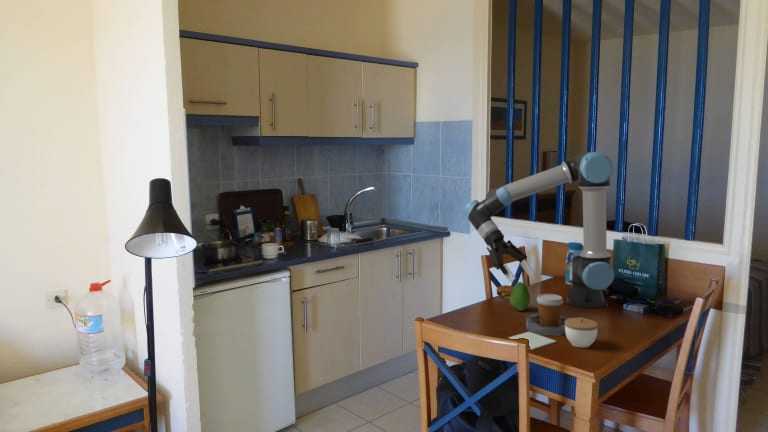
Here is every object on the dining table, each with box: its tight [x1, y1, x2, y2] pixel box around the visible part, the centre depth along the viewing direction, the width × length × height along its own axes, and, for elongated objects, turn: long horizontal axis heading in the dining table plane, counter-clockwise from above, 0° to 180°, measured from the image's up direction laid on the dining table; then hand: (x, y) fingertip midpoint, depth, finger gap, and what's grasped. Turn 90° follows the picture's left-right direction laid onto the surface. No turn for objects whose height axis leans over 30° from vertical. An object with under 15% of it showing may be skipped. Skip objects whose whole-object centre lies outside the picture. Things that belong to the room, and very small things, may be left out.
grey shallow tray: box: [525, 313, 571, 337], centre depth 205 cm, size 16×16×3 cm
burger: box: [496, 284, 514, 300], centre depth 250 cm, size 10×9×5 cm
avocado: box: [509, 281, 531, 312], centre depth 228 cm, size 8×8×12 cm
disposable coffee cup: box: [536, 293, 564, 326], centre depth 205 cm, size 10×10×12 cm
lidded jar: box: [565, 317, 599, 349], centre depth 188 cm, size 11×11×9 cm
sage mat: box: [508, 331, 557, 350], centre depth 192 cm, size 12×12×1 cm
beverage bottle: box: [564, 241, 583, 286], centre depth 271 cm, size 8×8×20 cm
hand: (522, 277), depth 212 cm, fingers open, 13 cm apart
